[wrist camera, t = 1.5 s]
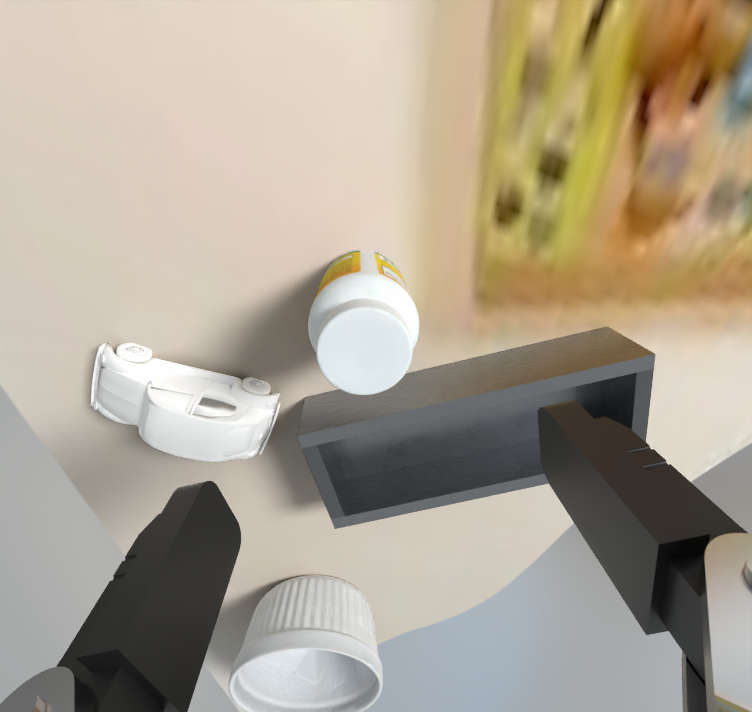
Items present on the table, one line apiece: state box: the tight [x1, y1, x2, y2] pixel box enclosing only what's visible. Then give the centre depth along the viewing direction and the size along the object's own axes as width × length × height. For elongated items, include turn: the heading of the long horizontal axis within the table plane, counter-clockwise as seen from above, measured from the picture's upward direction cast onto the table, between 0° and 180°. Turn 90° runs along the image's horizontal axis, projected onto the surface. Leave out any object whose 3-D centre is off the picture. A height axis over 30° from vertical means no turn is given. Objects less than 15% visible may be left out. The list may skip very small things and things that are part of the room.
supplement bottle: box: [308, 250, 419, 395], centre depth 19 cm, size 5×5×10 cm
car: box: [91, 342, 281, 462], centre depth 24 cm, size 12×6×5 cm, turn 67°
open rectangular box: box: [297, 327, 655, 529], centre depth 26 cm, size 9×22×4 cm, turn 104°
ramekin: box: [229, 575, 383, 712], centre depth 35 cm, size 13×13×7 cm
